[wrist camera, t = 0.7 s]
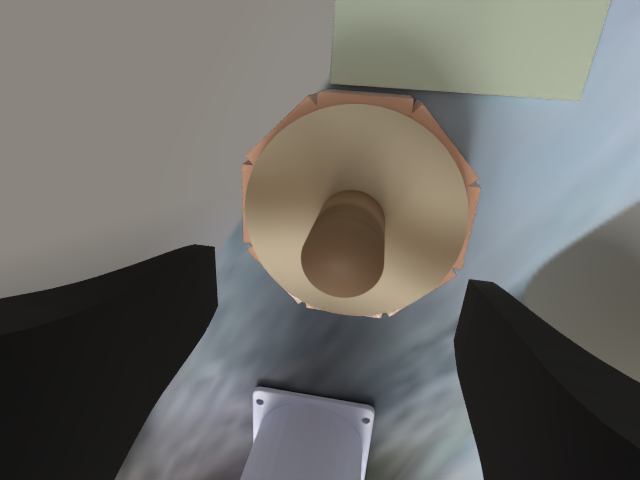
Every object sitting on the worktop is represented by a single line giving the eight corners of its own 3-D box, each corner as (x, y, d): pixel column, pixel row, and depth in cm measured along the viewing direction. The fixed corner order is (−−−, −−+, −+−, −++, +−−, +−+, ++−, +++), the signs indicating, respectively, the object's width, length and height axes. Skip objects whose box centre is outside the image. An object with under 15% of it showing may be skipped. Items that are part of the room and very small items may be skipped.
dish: (440, 294, 21) (447, 327, 18) (262, 271, 22) (244, 298, 20) (482, 100, 17) (500, 105, 14) (262, 84, 18) (240, 86, 16)
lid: (442, 321, 18) (458, 391, 14) (250, 294, 19) (214, 352, 15) (490, 113, 14) (528, 128, 10) (247, 94, 16) (199, 102, 12)
